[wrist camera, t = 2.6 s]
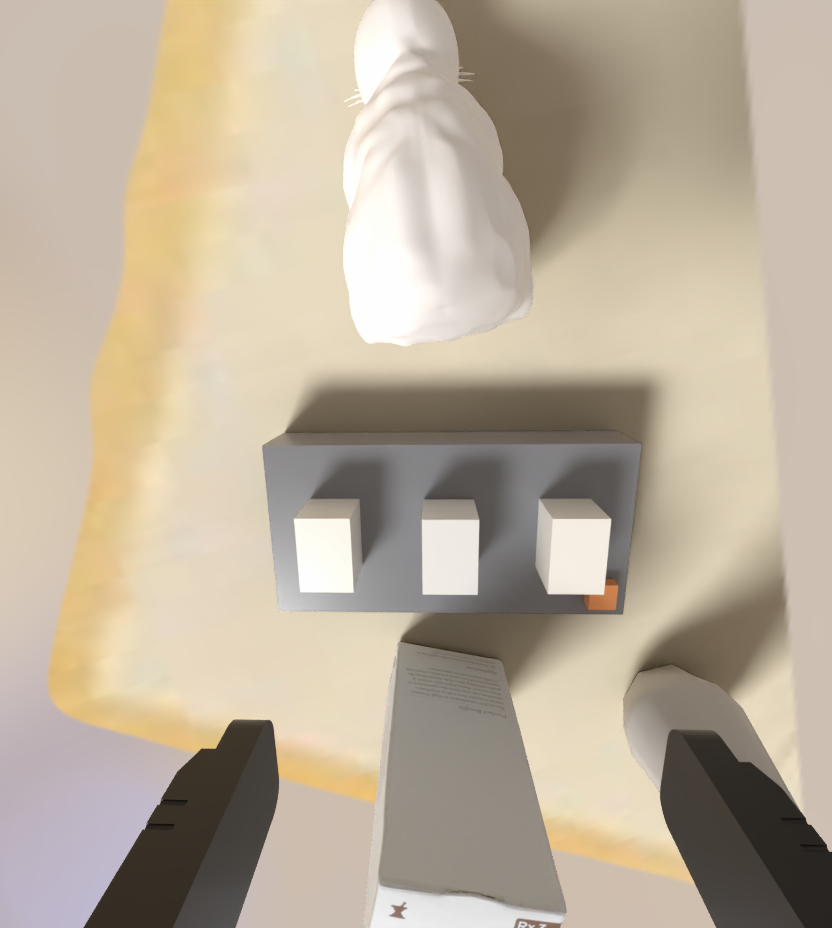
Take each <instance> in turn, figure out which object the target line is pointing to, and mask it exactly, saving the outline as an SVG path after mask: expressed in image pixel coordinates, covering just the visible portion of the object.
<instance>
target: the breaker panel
mask: <svg viewBox="0 0 832 928" xmlns="http://www.w3.org/2000/svg"><path fill="white" fill-rule="evenodd" d="M641 447H642V444H641V443H639V442H637V441H635V440H633V439H631V438H629V437H627V436H625V435H623V434H621V433H619V432H616V431H480V432H327V433H283V434H281V435H280V436H278V437H276V438H274V439H273V440H271V441H269V442H268V443H266V444H264V445H263V446H262V449H263V459H264V469H265V479H266V490H267V500H268V510H269V520H270V530H271V540H272V550H273V560H274V570H275V580H276V590H277V600H278V610H279V611H314V612H418V613H523V614H623V609H624V600H625V591H626V582H627V573H628V564H629V555H630V546H631V537H632V528H633V519H634V510H635V501H636V492H637V483H638V474H639V465H640V456H641ZM423 499H474V501H475V505H476V509H477V513H478V517H479V557H478V595H423V584H422V510H423Z"/></svg>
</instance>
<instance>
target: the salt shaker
mask: <svg viewBox="0 0 832 928" xmlns="http://www.w3.org/2000/svg"><path fill="white" fill-rule="evenodd" d="M623 711H624V730H625V733H626V737H627V741H628V744H629V747H630V751H631V754H632V756H633V757H634V758H635V760H636V761H637V762H638V764H639V765H640V766H641V768H642V769H643V770H644V772H645V773H646V775H647V776H648V777H649V779H650V780H651V781H652V783H653V784H654V785H655V787H656V788H657V789H658V791H659V792H660V786H661V779H662V772H663V766H664V759H665V752H666V745H667V738H668V734H669V732H670V731H671V730H672V729H684V730H713V731H715V732H716V733H717V734H718V735H719V736H720V737H721V738H722V739H723V741H724V742H725V743H726V745H727V746H728V747H729V749H730V750H731V752H732V753H733V754H734V756H735V757H736V758H737V760H738V761H739V762H751V763H752V764H753V765H755V766H756V767H757V768H758V769H760V770H761V771H762V772H763V773H764V774H766V775H767V776H768V777H769V778H771V779H772V780H773V781H774V782H775V783H777V784H778V785H779V786H780V787H782V789H783V790H784V791H785V792H786V794H787V795H788V796H789V798H790V799H791V800H792V801H793V803H794V804H795V805H796V806H797V804H796V803H795V801H794V799H793V797H792V796H791V794H790V792H789V790H788V788H787V787H786V785H785V783H784V781H783V780H782V778H781V776H780V774H779V772H778V771H777V769H776V767H775V765H774V764H773V762H772V760H771V758H770V756H769V755H768V753H767V751H766V749H765V748H764V746H763V744H762V742H761V740H760V739H759V737H758V735H757V733H756V732H755V730H754V728H753V726H752V724H751V723H750V721H749V719H748V717H747V716H746V714H745V712H744V710H743V708H742V707H741V706H740V705H739V704H738V703H737V702H736V701H735V700H734V699H733V698H732V697H731V696H730V695H729V694H728V693H727V692H726V691H724V690H723V689H722V688H721V687H720V686H719V685H717V684H714V683H711V682H709V681H706V680H704V679H701V678H698V677H696V676H693V675H691V674H689V673H687V672H686V671H684V670H682V669H680V668H678V667H676V666H674V665H672V664H670V665H666V666H662V667H658V668H654V669H650V670H646V671H642V672H638V674H637V676H636V677H635V679H634V681H633V683H632V684H631V686H630V688H629V689H628V691H627V693H626V695H625V696H624V698H623ZM797 808H798V806H797ZM798 809H799V808H798Z"/></svg>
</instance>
